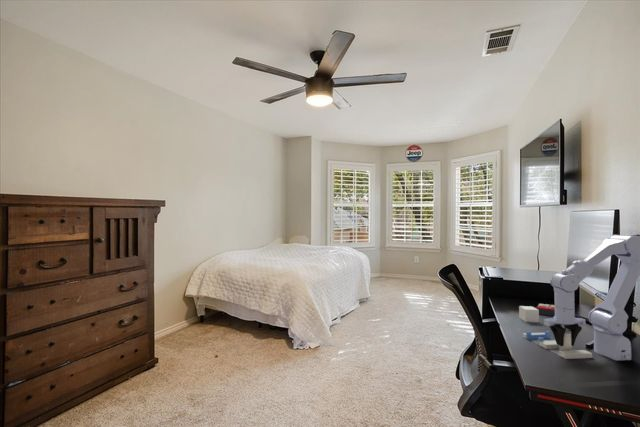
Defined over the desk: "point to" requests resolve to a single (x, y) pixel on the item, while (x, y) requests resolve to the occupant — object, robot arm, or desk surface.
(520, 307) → the cream white cube
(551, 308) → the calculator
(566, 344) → the cream round-ended cylinder
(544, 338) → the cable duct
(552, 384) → the desk surface
